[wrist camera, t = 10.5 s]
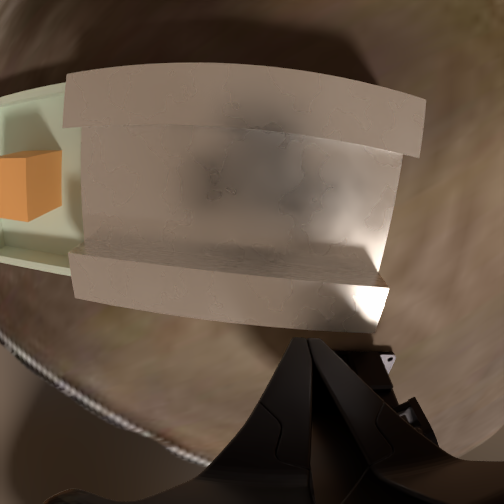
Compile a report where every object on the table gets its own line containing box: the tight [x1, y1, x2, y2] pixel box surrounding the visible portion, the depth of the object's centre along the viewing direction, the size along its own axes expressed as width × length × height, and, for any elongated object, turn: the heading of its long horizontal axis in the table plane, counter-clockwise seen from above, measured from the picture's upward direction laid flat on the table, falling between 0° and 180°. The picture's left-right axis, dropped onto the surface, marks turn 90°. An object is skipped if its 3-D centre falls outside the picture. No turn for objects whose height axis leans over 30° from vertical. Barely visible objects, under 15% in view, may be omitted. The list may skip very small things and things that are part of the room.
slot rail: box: [62, 63, 426, 333], centre depth 17 cm, size 13×18×5 cm
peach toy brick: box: [0, 150, 62, 222], centre depth 17 cm, size 4×4×4 cm
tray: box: [0, 82, 84, 276], centre depth 18 cm, size 13×11×2 cm
